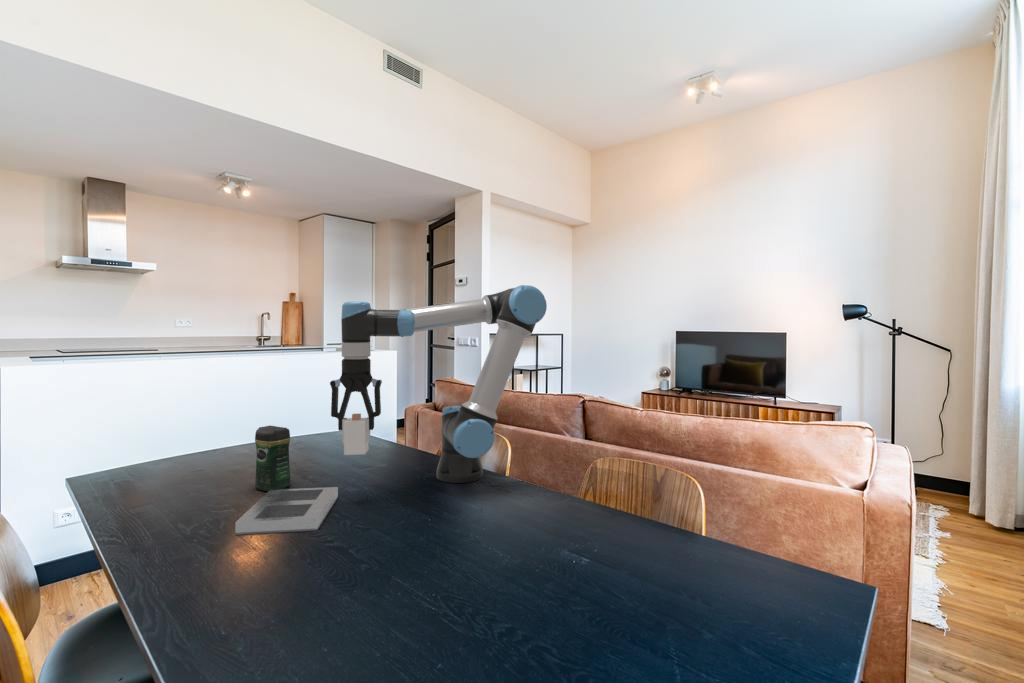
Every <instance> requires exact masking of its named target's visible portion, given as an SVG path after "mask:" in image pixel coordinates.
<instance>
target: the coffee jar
mask: <svg viewBox="0 0 1024 683" xmlns="http://www.w3.org/2000/svg"><path fill="white" fill-rule="evenodd" d="M290 441H291V434H290V429H289V428H288V427H283V426H275V425H266V426H260V427H258V428H257V429H256V431H255V436H254V442H255V448H256V463H255V481H254V482H255V485H254V486H255V488H256V489H257V490H260V491H265V492H269V491H270V490H277V489H288V487H290V486H291V469H290V451H289V450H290V447H289V446H290Z"/></svg>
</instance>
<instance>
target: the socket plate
mask: <svg viewBox="0 0 1024 683" xmlns="http://www.w3.org/2000/svg"><path fill="white" fill-rule="evenodd" d="M338 498H339V486H330V487H328V486H325V487H305V488H285V489H277V490H270V491H266V493H265V494H263V496H261V498H260V499H259V500H258V501H256V503H255V504H254V505H252V506H251V507H250V508H249V509H248V510H246V512H245V513H243V515H242V516H240V517H239V519H237V520H236V521H235V536H240V535H241V536H242V535H244V536H245V535H257V534H258V535H260V534H276V533H277V534H279V533H280V534H281V533H296V532H299V533H300V532H313V531H314V532H315V531H319V528H320V527H321V525H323V522H324V520H325V519H326V517H327V515H328V514H329V513H330V511H331V509H332V508H333V506H334V505H335V503H336V501H337V499H338Z"/></svg>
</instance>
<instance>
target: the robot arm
mask: <svg viewBox="0 0 1024 683" xmlns="http://www.w3.org/2000/svg"><path fill="white" fill-rule="evenodd" d="M547 304H548V303H547V300H546V298H545V295H544V294H543V292H542V291H541V290H540V289H539V288H537V287H536V286H533V285H525V284H521V285H518V286H515V287H512V288H507V289H505V290H502V291H499V292H496V293H492V294H486V295H483V296H482V298H478V299H472V300H471V299H470V300H465V301H458V302H450V303H442V304H434V305H429V306H420V307H412V308H407V309H406V308H405V309H373V308H372V307H371V303H370V302H367V301H345V302H343V303H342V306H341V357H343V358H342V360H341V376H340V377H339V379H336V380H335V379H333V380H331V381H330V382H329V386H330V388H331V406H330V407H331V408H330V411H331V412H330V416H331V417H332V418H336V419H337V420H338V422H337V423H338V424H337V426H338V431H341V432H342V433H341V435H342V437H341V438H342V439H341V440H342V441H341V443H342V444H344V421H345V420H347V419H348V417H345V416H346V412H347V408H348V405H349V402H350V399H351V395H352V393H354V392H356V393H360V394H361V396H362V400H363V402H364V406H365V410H366V412H367V417H365V418H366V443H368V444H369V443H370V441H371V431H373V430H374V428H375V418H376V417H380V415H381V414H382V405H381V385H382V384H383V383H382V379H376V378H373V376H372V372H371V371H372V370H371V366H372V365H371V364H372V363H371V362H372V361H371V360H372V359H370V357H371V337H401V338H403V337H412V336H413V335H414V334H415V333H419V332H425V331H433V330H438V329H446V328H453V327H459V326H466V325H473V324H479V323H480V324H481V323H486V324H487V325H493V324H494V325H495V324H497V326H498V328H497V332H496V334H495V336H494V338H493V340H492V343H491V346H490V348H489V350H488V353H487V354H486V358H485V361H484V363H483V365H482V367H481V370H480V373H479V375H478V377H477V380H476V382H475V385H474V387H473V389H472V392H471V394H470V397H469V399H468V401H465V402H463V403H461V405H453V406H452V405H451V406H445V407H443V408H442V412H441V416H440V417H441V455H440V458H439V461H438V464H437V467H436V475H435V476H436V479H437V480H439V481H441V482H444V483H451V484H465V483H473V482H475V481H478V480H480V479H482V478H483V475H484V468H483V465H482V462H481V457H483V456H484V455H486V454H488V452H489V451H490V450H492V447H493V445H494V442H495V439H496V438H495V430H494V429H495V426H496V424H497V422H498V415H497V412H496V411H497V408H498V405H499V403H500V401H501V398H502V395H503V393H504V390H505V388H506V385H507V384H508V380H509V378H510V376H511V374H512V370H513V369H514V365H515V363H516V361H517V359H518V356H519V353H520V351H521V349H522V346H523V344H524V340H525V339H526V338H528V337H530V336H531V335H532V334H533V331H534V329H535V326H536V325H537V323H539V322H540V321H541V320H542V319H543V318H544V317H545V315H546V312H547V306H548V305H547ZM371 383H372V387H373V388H374V391H373V392H374V393H373V394H374V409H373V406H372V402H371V398H370V396H369V392H368V387H369V385H370V384H371ZM341 384H342V386H343V387H344V388H345V390H344V394H343V395H344V396H343V398H342V402H341V405H340V409H339V387H340V386H341Z"/></svg>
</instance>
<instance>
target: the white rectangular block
mask: <svg viewBox="0 0 1024 683" xmlns="http://www.w3.org/2000/svg"><path fill="white" fill-rule="evenodd" d="M366 418H367V417H362V413H352V414H351V417H347V420H345V421H344V443H343V456H351V455H352V456H353V455H354V456H355V455H356V456H357V455H360V456H361V455H367V452H368V451H369V443H366Z"/></svg>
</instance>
